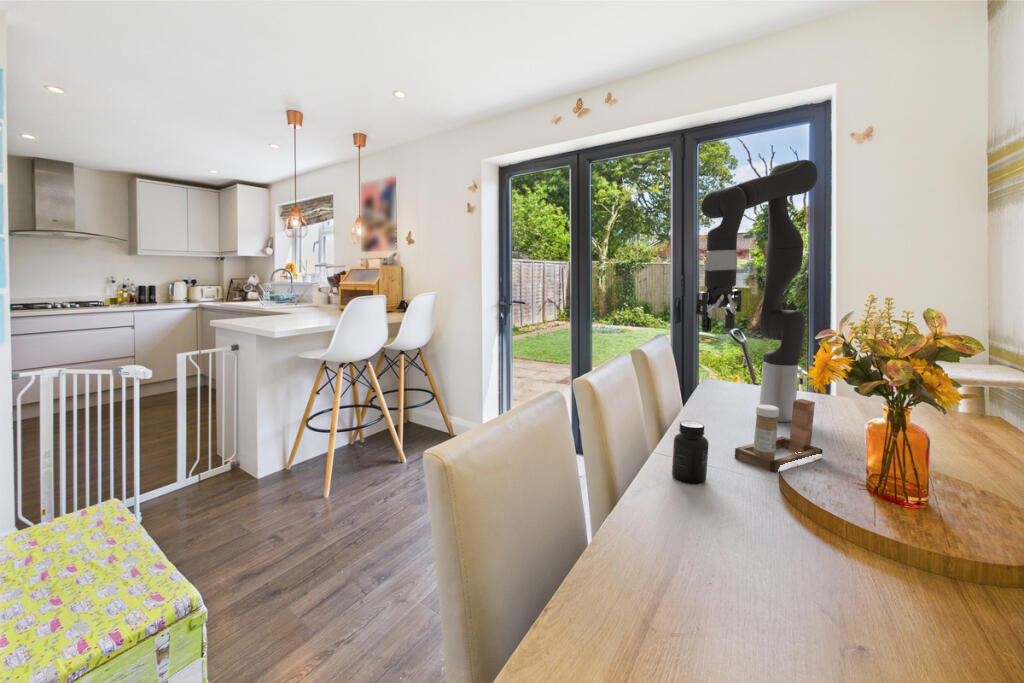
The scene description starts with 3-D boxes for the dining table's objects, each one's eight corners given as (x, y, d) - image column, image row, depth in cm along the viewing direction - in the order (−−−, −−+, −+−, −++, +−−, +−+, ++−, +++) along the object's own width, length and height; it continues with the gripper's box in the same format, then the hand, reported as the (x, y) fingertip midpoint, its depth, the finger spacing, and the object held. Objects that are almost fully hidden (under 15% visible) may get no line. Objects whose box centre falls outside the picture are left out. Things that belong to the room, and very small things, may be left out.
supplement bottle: (695, 470, 99) (698, 418, 98) (712, 484, 92) (716, 428, 91) (666, 472, 98) (669, 419, 97) (681, 486, 92) (684, 430, 90)
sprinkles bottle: (760, 457, 107) (765, 402, 105) (779, 464, 103) (784, 408, 101) (747, 460, 105) (752, 405, 103) (765, 468, 101) (770, 410, 99)
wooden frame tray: (783, 444, 115) (788, 395, 113) (824, 458, 106) (829, 405, 105) (734, 457, 106) (738, 404, 105) (774, 473, 98) (779, 416, 96)
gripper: (727, 268, 123) (724, 326, 125) (689, 269, 117) (687, 330, 119) (752, 267, 116) (748, 329, 119) (713, 269, 110) (710, 334, 113)
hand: (718, 329), depth 119 cm, fingers open, 8 cm apart
